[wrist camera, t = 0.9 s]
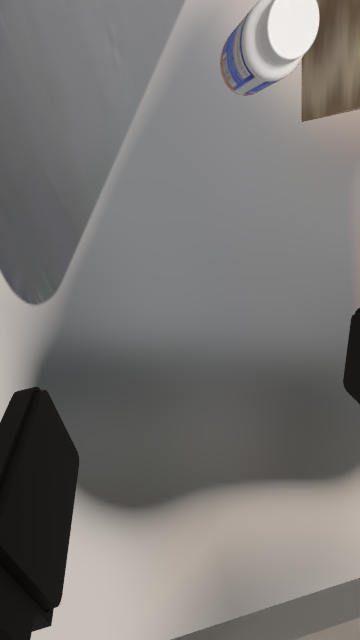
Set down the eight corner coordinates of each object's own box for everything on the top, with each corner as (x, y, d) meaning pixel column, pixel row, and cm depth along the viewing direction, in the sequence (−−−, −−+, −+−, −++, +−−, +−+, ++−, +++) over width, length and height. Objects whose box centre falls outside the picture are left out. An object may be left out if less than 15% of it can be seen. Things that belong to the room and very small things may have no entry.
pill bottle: (279, 40, 30) (344, -11, 21) (259, 104, 32) (311, 81, 23) (228, 17, 28) (276, -49, 20) (211, 86, 30) (248, 54, 22)
